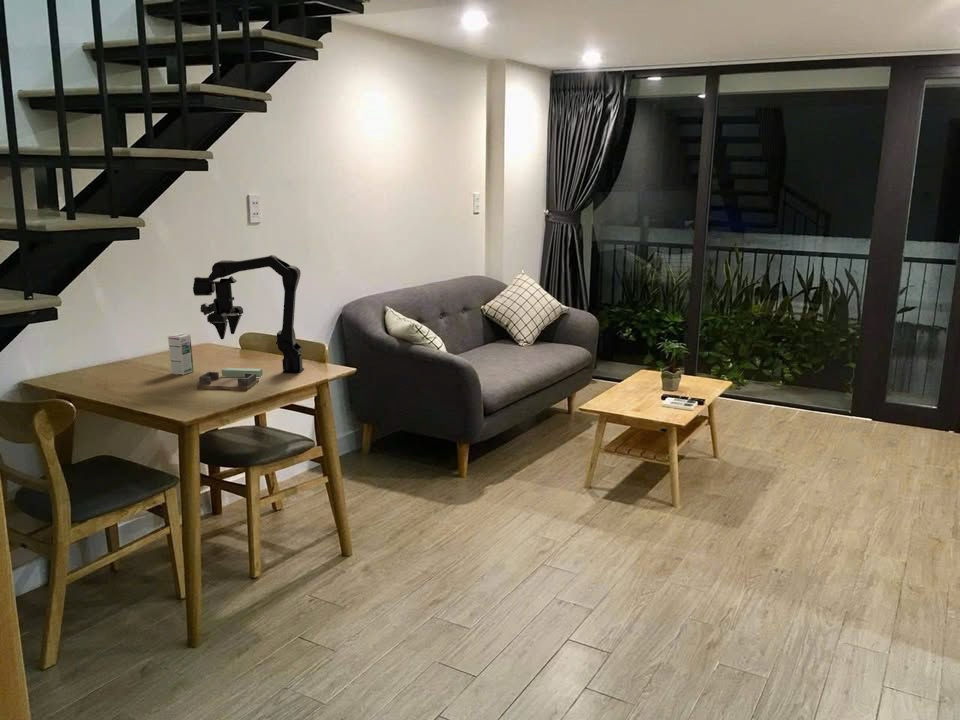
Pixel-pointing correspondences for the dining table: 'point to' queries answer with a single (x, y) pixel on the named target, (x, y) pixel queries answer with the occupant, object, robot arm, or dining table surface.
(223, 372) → the slat
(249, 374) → the frame
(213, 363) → the dining table surface
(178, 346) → the syrup box
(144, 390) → the dining table surface
